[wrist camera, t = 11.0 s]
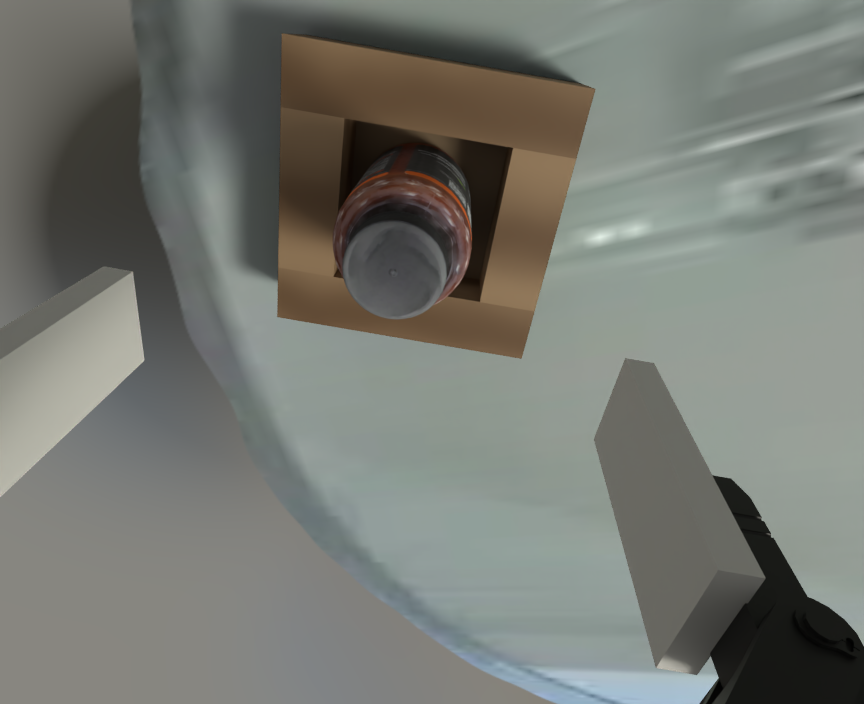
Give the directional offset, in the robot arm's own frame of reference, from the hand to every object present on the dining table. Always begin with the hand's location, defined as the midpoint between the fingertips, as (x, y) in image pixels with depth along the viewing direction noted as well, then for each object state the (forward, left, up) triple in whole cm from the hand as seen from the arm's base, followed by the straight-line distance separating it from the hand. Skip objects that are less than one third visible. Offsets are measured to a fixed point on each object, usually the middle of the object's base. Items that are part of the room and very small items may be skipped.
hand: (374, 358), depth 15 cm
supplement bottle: (0, -1, -18) cm, 18 cm away
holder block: (0, 0, -19) cm, 19 cm away
